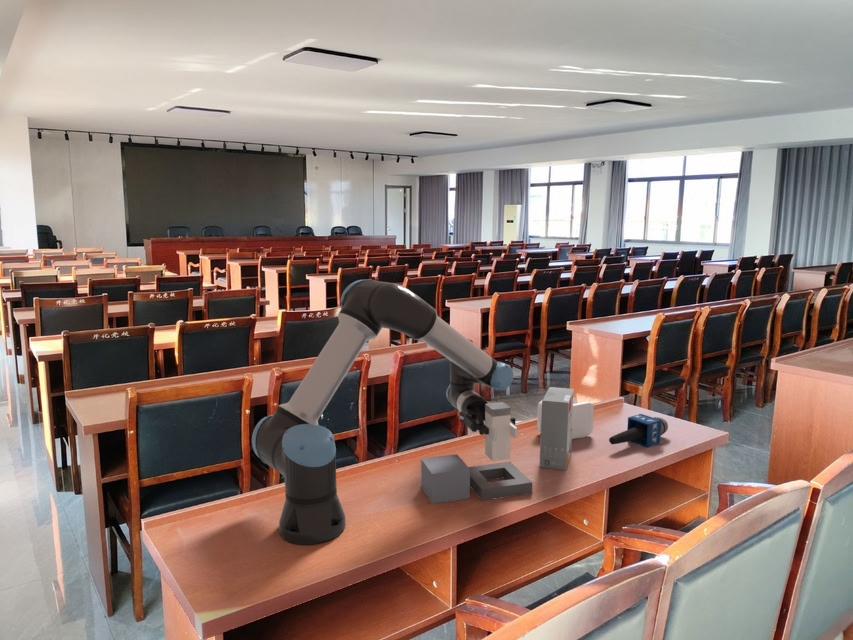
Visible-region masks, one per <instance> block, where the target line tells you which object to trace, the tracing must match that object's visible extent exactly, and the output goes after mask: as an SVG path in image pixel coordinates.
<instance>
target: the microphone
mask: <svg viewBox="0 0 853 640" xmlns="http://www.w3.org/2000/svg"><path fill="white" fill-rule="evenodd" d="M668 428H669V423H668V422H667V421H666V420H665V418H663V417H660V416H659V417H656V416H655V417H653V416H649V415H647V414H643V413H639V414H635V415H633V416H628V417H627V430H624V431H622V432H621V431H620V432H619V433H617V434H615V435H613V436H610V437H609V439H608V441H609V443H610V445H617V444H622V443H623V444H624V443H627V442H629V443H632V444H635V445H639V446H640V447H643V448H646V449H648V448H650V447H654V446H657V445H660V444H661V436H662V435H664V434H665V433H666V432H667V431H668Z"/></svg>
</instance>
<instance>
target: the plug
mask: <svg viewBox="0 0 853 640" xmlns="http://www.w3.org/2000/svg"><path fill="white" fill-rule="evenodd" d="M510 414H511V406H509V405H508V404H506V403H505V402H504V401H500V402H491V403H489V402H488V404H485V421H484V423H485V422H487V423H488V424H490V425H491V426H492V427H493V428H494V429H495V430H497V441H493V440H492V439H491V438H490V437H489V436H488V435H487V434H484V455H486V457H487V458H489V460H490V461H491V462H495V461H496V462H497V461H504V460H510V459H511V435H510Z"/></svg>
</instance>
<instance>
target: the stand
mask: <svg viewBox="0 0 853 640" xmlns="http://www.w3.org/2000/svg"><path fill="white" fill-rule="evenodd" d="M420 459H421V461H420V468H421V469H420V470H421V471H420V472H421V473H420V474H421V475H420V476H421V479H420V480H421V488H422V491H423V492H424V493H425V495H426V496H427V498H428V499H429V502H431V504H432V505H436V504H441V503H447V502H448V503H449V502H455V501H461V500H469V498H471V487H470V469H469V467H470V466H468V465H467V464H466V463H465V462H464V461H463V459H462V458H461V457H460V456H459V455H458V454H457V453H456V454H448V455H441V456H433V457H432V456H431V457H424V458H420Z"/></svg>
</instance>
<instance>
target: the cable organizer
mask: <svg viewBox="0 0 853 640" xmlns="http://www.w3.org/2000/svg"><path fill="white" fill-rule="evenodd" d="M536 411H537V414H536V415H537V416H536V417H537V418H536V419H537V420H536V429H537V431H538V432H539V433H541V415H542V400H540V401H539V402H538V404H537V410H536ZM593 428H594V404H593V403H591V402H589V401H583V402H578V400H577V398H576V397H574V396H573V418H572V440H575V439H584V438H587V437H588V436H590V435H591V434H592V433H593V431H594V429H593Z"/></svg>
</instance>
